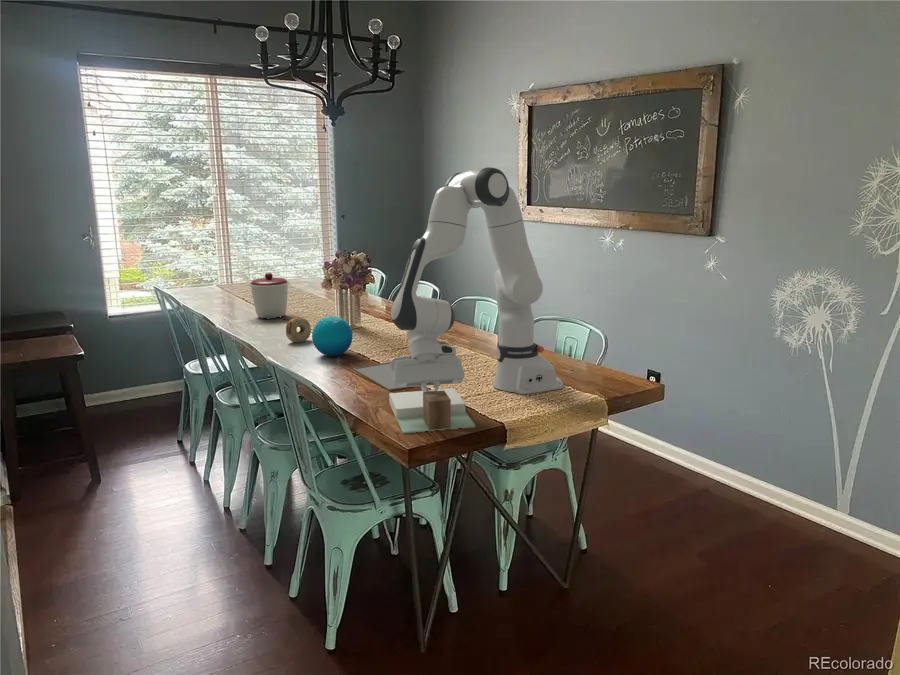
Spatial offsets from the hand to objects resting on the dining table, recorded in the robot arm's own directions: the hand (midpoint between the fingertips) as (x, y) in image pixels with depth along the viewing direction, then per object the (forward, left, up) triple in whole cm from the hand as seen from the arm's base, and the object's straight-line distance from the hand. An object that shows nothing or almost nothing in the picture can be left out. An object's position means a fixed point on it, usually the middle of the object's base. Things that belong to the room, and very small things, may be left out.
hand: (432, 397), depth 190 cm
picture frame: (+4, -43, -7) cm, 43 cm away
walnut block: (0, +1, -2) cm, 2 cm away
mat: (0, +4, -6) cm, 7 cm away
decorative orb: (+23, -73, -6) cm, 76 cm away
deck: (0, -9, -6) cm, 11 cm away
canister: (+47, -148, -6) cm, 155 cm away
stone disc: (+35, -97, -6) cm, 103 cm away
